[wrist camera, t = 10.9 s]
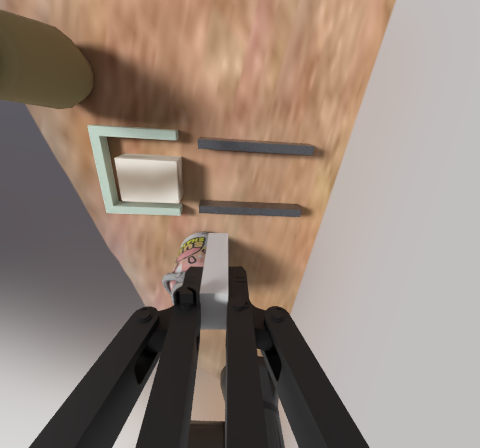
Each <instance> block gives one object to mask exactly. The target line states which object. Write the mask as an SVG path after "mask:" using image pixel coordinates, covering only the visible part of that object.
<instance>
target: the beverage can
mask: <svg viewBox="0 0 480 448" xmlns="http://www.w3.org/2000/svg"><path fill="white" fill-rule="evenodd" d="M208 235H209V233H208V232H197V233H194V234H191V235H190V236H189V237H187V238H186V239H185V240H184V242H183V243H182V245H181V248H180V251H179V254H178V257H177V259H176V262H175V265H174V268H173V271H172V273H168V274H166V275H165V276H164V277H163V279H162V282H163V286H164V287H165V289H166V290H167V292H168V293H169V294H170V295H171V299H172V303H173V304H174V298H173V293H174V291H175V290H176V289H177V288H179V287H181V286H182V284H183V280H184V277H185V273H186V271H187V269H188V268H189V267H190V266H193V267H204V261H205V255H206V248H207V242H208Z"/></svg>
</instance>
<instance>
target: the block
mask: <svg viewBox="0 0 480 448" xmlns="http://www.w3.org/2000/svg"><path fill="white" fill-rule="evenodd" d="M114 160H115V165H116V171H117V176H118V182H119V187H120V193H121V198H122V201H132V202H157V203H179V202H180V200H181V198H182V197H183V176H182V156H166V155H148V154H130V153H125V154H123V155H120V156H118V157H116V158H114Z"/></svg>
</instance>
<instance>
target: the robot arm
mask: <svg viewBox="0 0 480 448" xmlns="http://www.w3.org/2000/svg"><path fill="white" fill-rule="evenodd" d="M173 298H174V306H172V307H170V308H168V309H165V310H161V311H158V310H157V309H156V308H154V307H143V308H141V309H139V310H137V311H136V312H135V313H134V314H133V315H132V316H131V317H130V318H129V320H128V321H127V322H126V324H125V325H124V326H123V327H122V329H121V330H120V331H119V333H118V334H117V335H116V336H115V338H114V339H113V340H112V342H111V343H110V344H109V345H108V347H107V348H106V350H105V351H104V352H103V353H102V354H101V356H100V357H99V358H98V360H97V361H96V362H95V363H94V365H93V366H92V367H91V369H90V370H89V371H88V372H87V374H86V375H85V376H84V378H83V379H82V380H81V381H80V383H79V384H78V385H77V387H76V388H75V389H74V390H73V392H72V393H71V394H70V396H69V397H68V398H67V399H66V401H65V402H64V403H63V405H62V406H61V407H60V408H59V410H58V411H57V412H56V413H55V415H54V416H53V417H52V419H51V420H50V421H49V422H48V424H47V425H46V426H45V428H44V429H43V430H42V431H41V433H40V434H39V435H38V437H37V438H36V439H35V441H34V442H33V443H32V444H31V446H30V447H29V448H112V447H113V445H114V443H115V441H116V439H117V437H118V435H119V434H120V432H121V430H122V428H123V426H124V424H125V422H126V420H127V418H128V416H129V415H130V413H131V411H132V409H133V407H134V405H135V403H136V401H137V399H138V398H139V396H140V394H141V392H142V390H143V388H144V386H145V384H146V382H147V380H148V379H149V377H150V375H151V373H152V371H153V369H154V367H155V365H156V363H157V362H158V360H159V358H160V360H159V364H158V367H157V371H156V374H155V378H154V382H153V386H152V389H151V393H150V396H149V400H148V404H147V407H146V411H145V415H144V419H143V422H142V426H141V430H140V434H139V437H138V441H137V444H136V448H285V446H284V440H283V435H282V429H281V423H280V417H279V411H278V398H280V401H281V403H282V406H283V408H284V411H285V413H286V416H287V419H288V421H289V423H290V426H291V429H292V431H293V434H294V436H295V439H296V441H297V444H298V447H299V448H369V446H368V444H367V443H366V441H365V439H364V438H363V436H362V434H361V433H360V431H359V429H358V428H357V426H356V424H355V423H354V421H353V419H352V418H351V416H350V414H349V413H348V411H347V409H346V408H345V406H344V405H343V403H342V401H341V399H340V398H339V396H338V394H337V393H336V391H335V390H334V388H333V386H332V385H331V383H330V381H329V379H328V378H327V376H326V374H325V373H324V371H323V369H322V368H321V366H320V365H319V363H318V361H317V359H316V358H315V356H314V354H313V353H312V351H311V350H310V348H309V346H308V345H307V343H306V341H305V340H304V338H303V336H302V335H301V333H300V331H299V330H298V328H297V326H296V325H295V323H294V321H293V320H292V318H291V316H290V315H289V313H288V312H287V311H286V310H285V309H283V308H281V307H278V306H272V307H270V308H268V309H267V310H262V309H259V308H256V307H255V306H253V305H252V304H251V302H250V300H249V293H248V285H247V276H246V271H245V270H244V268H243V267H228V233H209V235H208V242H207V248H206V255H205V261H204V267H193V266H190V267H189V268H188V269H187V271H186V273H185V277H184V280H183V284H182V286H181V287H179V288H177V289H176V290H175V291H174V293H173ZM200 327H201V329H226V366H225V367H224V368H223V370H222V372H221V389H222V393H223V396H224V400H225V421H220V422H219V421H192V420H191V411H192V403H193V394H194V386H195V377H196V369H197V360H198V352H199V343H200ZM257 349H260V350H261V353H262V355H263V358H261V357H258V356H257Z"/></svg>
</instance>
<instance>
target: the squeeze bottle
mask: <svg viewBox="0 0 480 448" xmlns="http://www.w3.org/2000/svg"><path fill="white" fill-rule="evenodd" d="M93 86H94V75H93V72H92V69H91V66H90V64H89V62H88V61H87V59H86V58H85V57H84V55H83V54H82V53H81V51H80V50H79V49H78V48H77V46H76V45H75V44H74V43H73V42H72V40H71V39H69V38H68V37H67V36H66V35H65V34H63V33H62V32H61V31H60V30H58V29H57V28H56V27H53V26H50V25H48V24H45V23H42V22H39V21H36V20H33V19H30V18H26V17H23V16H20V15H16V14H13V13H10V12H7V11H3V10H0V100H7V101H12V102H19V103H25V104H31V105H37V106H43V107H50V108H56V109H64V108H72V107H74V106H75V105H77V104H78V103H79V102H81V101H82V100H83V99H85V98H86V97H87V96H88V95H89V94H90V93H91V91H92V88H93Z"/></svg>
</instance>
